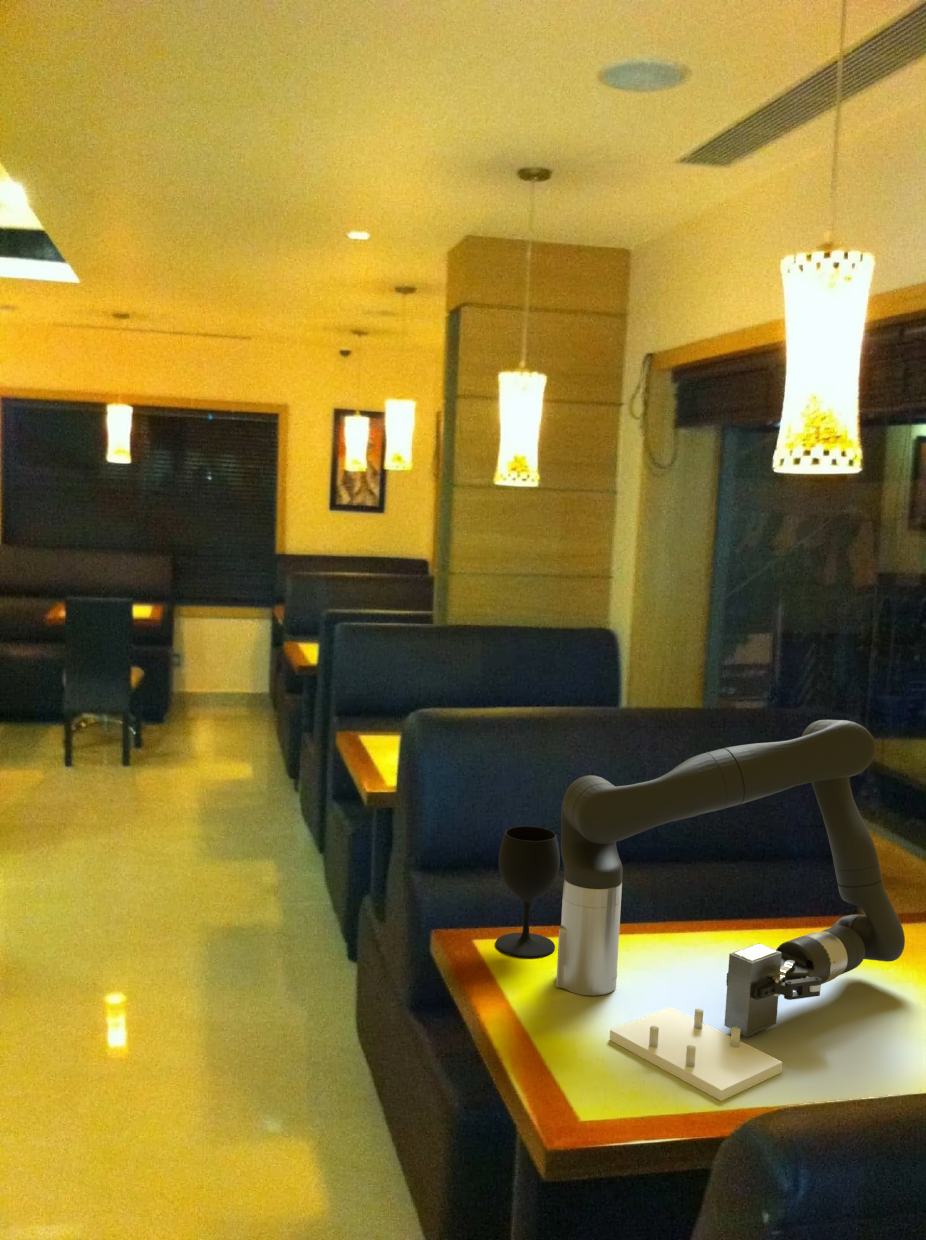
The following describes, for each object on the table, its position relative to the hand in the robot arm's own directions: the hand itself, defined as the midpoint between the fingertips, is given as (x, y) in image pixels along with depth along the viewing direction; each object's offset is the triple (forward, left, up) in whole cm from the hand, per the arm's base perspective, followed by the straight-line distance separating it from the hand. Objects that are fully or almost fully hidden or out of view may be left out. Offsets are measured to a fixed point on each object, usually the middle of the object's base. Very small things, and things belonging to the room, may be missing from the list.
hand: (741, 986), depth 163 cm
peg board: (-6, -8, -8) cm, 13 cm away
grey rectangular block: (+2, +2, -7) cm, 7 cm away
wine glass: (-35, +23, -8) cm, 43 cm away
